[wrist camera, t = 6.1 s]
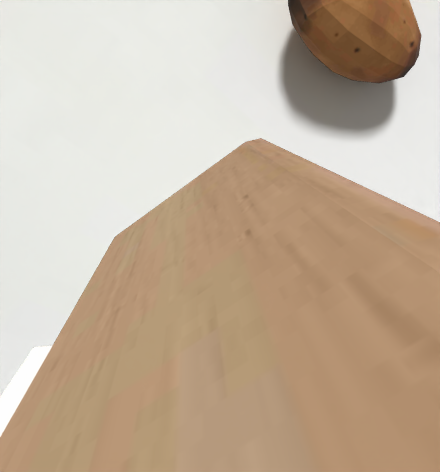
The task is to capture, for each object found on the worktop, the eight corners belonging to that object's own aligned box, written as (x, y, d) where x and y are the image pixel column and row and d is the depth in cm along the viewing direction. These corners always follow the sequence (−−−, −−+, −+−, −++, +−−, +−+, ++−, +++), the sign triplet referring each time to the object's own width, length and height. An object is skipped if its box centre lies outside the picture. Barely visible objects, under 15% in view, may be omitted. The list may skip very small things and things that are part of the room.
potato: (372, 50, 39) (365, 115, 37) (269, -28, 34) (253, 43, 31) (444, 0, 33) (440, 75, 31) (331, -107, 27) (316, -26, 25)
